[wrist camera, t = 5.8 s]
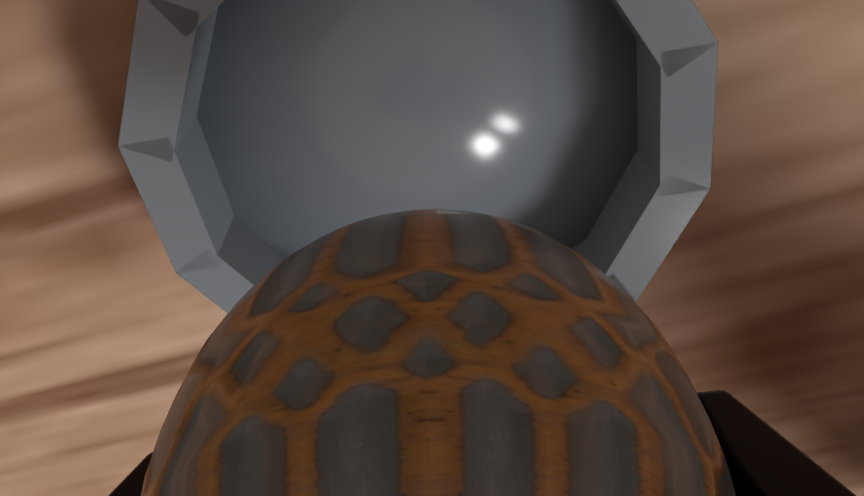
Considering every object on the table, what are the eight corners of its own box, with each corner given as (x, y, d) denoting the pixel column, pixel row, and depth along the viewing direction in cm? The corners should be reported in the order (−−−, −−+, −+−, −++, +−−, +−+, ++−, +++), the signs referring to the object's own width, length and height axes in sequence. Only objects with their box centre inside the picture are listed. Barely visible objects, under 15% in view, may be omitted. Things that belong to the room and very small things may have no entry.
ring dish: (773, 151, 19) (817, 196, 17) (397, 389, 24) (396, 447, 22) (463, -348, 13) (473, -374, 11) (44, 96, 18) (-5, 137, 16)
